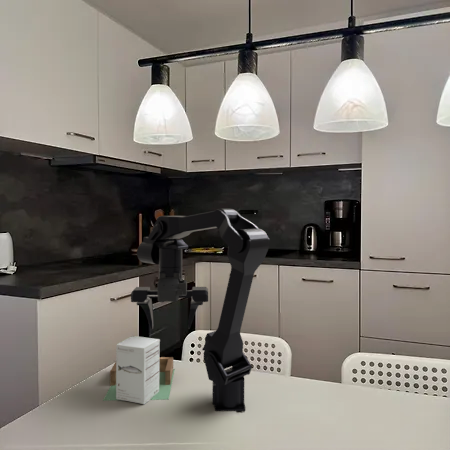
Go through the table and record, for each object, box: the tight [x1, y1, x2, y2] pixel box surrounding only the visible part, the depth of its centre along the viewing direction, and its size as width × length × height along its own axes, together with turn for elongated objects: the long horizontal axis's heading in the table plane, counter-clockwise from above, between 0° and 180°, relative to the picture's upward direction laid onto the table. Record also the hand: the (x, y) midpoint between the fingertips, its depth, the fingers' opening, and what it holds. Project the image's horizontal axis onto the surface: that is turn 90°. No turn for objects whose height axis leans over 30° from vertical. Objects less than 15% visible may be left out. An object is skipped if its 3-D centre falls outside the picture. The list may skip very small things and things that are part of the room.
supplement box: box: [115, 335, 161, 405], centre depth 96 cm, size 7×7×13 cm
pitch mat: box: [102, 368, 176, 402], centre depth 103 cm, size 14×18×1 cm
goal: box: [109, 356, 174, 387], centre depth 107 cm, size 14×9×4 cm, turn 92°
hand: (170, 328), depth 105 cm, fingers open, 9 cm apart
